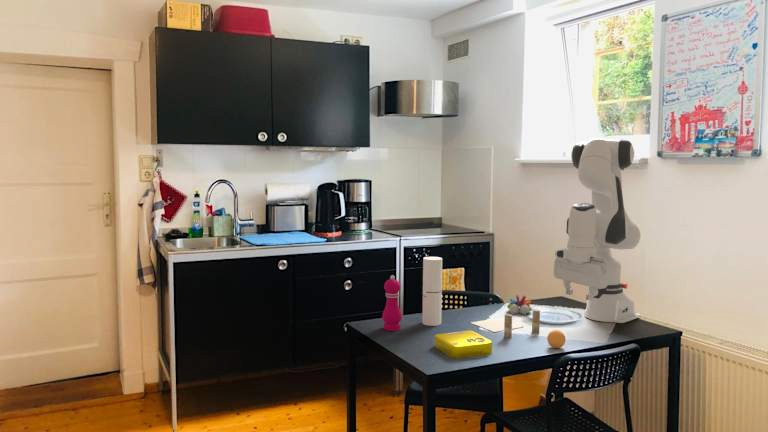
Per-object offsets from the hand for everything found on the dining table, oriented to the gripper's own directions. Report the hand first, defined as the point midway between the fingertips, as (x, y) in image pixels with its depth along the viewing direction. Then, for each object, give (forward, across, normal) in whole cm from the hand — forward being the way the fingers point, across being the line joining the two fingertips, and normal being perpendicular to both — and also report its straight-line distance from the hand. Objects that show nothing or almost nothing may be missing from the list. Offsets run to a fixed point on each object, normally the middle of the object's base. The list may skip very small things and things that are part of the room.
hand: (579, 297), depth 215 cm
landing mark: (+20, +40, 0) cm, 45 cm away
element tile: (+20, +23, +28) cm, 42 cm away
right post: (+19, +26, -7) cm, 33 cm away
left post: (+20, +26, +6) cm, 33 cm away
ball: (+16, +9, 0) cm, 19 cm away
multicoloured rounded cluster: (+20, +51, -20) cm, 58 cm away
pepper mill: (+20, +55, +37) cm, 69 cm away
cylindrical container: (+20, +54, +20) cm, 61 cm away
